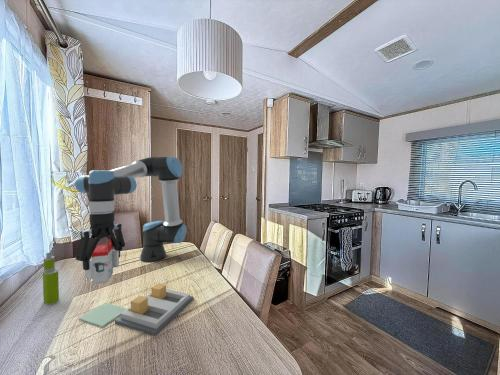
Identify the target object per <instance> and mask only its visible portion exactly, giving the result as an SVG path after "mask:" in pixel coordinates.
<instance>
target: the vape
mask: <svg viewBox="0 0 500 375" xmlns="http://www.w3.org/2000/svg"><path fill="white" fill-rule="evenodd" d="M59 287H60V286H59V270H58V269H56V267H55V256H54V255H52V252H47V253H46V254H45V257H43V271H42V288H43V289H42V290H43V291H42V292H43V293H42V294H43V303H45V304H46V305H47V306H48V305H52V304H55V303H58V302H59V300H60V288H59Z"/></svg>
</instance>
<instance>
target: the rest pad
mask: <svg viewBox="0 0 500 375" xmlns="http://www.w3.org/2000/svg"><path fill="white" fill-rule="evenodd" d="M126 309H127V308H126V307H123V306H118V305H116V304H112V303H109V302H108V303H107V302H103V304H101V305H99V306H97V307H96V308H93V309H91V311H88V312H87V313H85V314H83V315H82V316H80V317H78V320H79V321H81V322H84V323H88V324H90V325H93V326H96V327H99V328H104V327H106V326H108V325H109V324H110V323H112V322H113V321H115V320H116V319H117V318H119V317H120V316H121V313H122V312H123V311H125V310H126Z"/></svg>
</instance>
